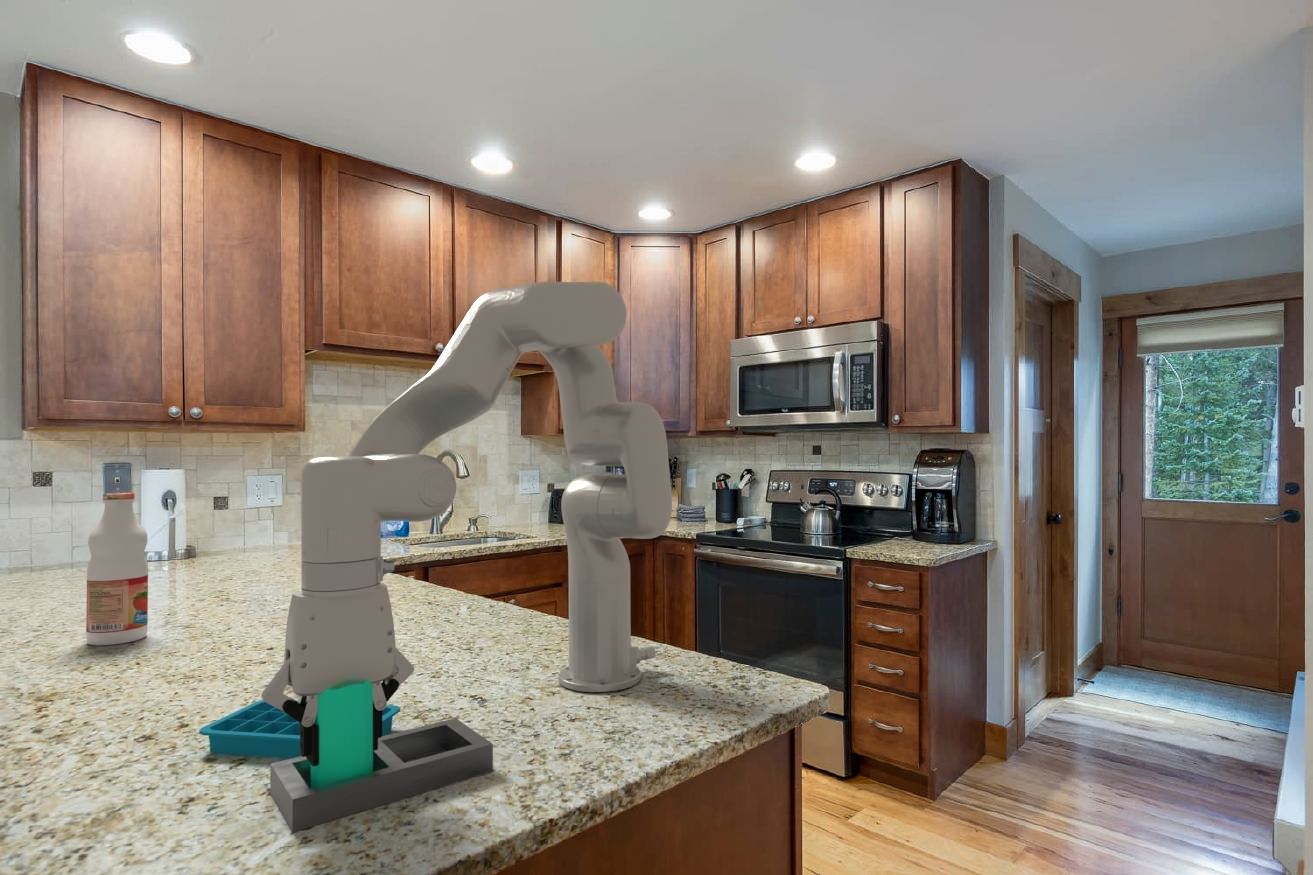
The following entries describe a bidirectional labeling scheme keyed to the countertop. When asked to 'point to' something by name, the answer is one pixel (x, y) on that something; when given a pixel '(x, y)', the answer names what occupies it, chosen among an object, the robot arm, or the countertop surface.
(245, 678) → the countertop surface
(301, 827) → the hollow block
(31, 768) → the countertop surface
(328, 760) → the candle
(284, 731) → the ice cube tray
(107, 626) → the fruit juice
